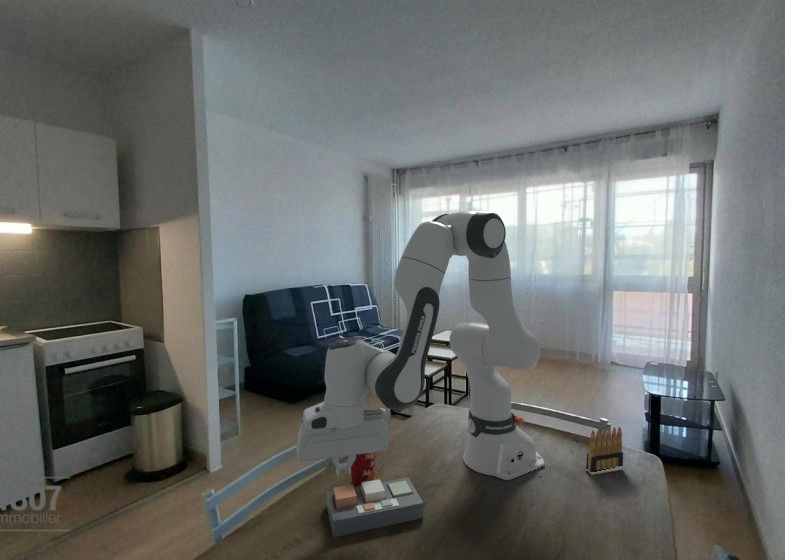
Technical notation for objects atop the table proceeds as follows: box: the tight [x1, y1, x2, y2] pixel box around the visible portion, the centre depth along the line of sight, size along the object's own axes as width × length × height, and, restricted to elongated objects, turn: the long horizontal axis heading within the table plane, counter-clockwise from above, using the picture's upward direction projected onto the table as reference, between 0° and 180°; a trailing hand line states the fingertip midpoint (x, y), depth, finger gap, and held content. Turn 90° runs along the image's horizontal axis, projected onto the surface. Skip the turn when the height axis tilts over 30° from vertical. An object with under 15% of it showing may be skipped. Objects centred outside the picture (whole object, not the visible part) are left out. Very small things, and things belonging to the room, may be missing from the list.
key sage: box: [388, 481, 412, 498], centre depth 89 cm, size 4×4×2 cm
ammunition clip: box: [585, 426, 624, 472], centre depth 103 cm, size 11×2×12 cm, turn 105°
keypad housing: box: [326, 477, 425, 538], centre depth 86 cm, size 20×10×4 cm, turn 108°
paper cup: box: [350, 452, 377, 487], centre depth 96 cm, size 8×8×14 cm
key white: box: [361, 479, 385, 503], centre depth 87 cm, size 4×4×2 cm
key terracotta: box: [332, 483, 357, 509], centre depth 85 cm, size 4×4×2 cm
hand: (343, 473), depth 84 cm, fingers closed
